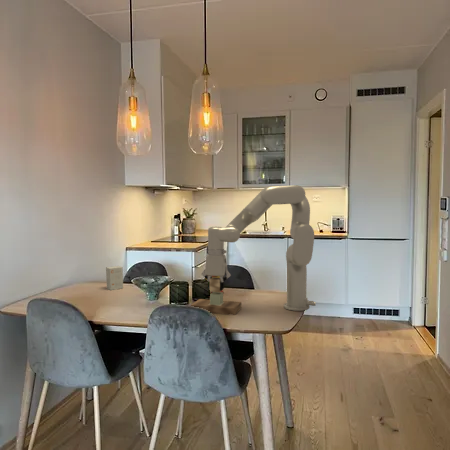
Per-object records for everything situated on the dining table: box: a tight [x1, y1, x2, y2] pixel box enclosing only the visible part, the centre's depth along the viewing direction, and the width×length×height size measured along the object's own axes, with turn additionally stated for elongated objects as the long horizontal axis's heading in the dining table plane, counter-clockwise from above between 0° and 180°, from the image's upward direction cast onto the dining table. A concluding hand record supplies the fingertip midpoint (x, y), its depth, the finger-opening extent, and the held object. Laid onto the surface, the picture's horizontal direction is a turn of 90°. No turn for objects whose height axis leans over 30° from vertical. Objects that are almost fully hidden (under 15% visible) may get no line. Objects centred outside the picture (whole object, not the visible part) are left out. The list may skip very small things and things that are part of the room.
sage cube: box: [209, 291, 224, 305], centre depth 196 cm, size 5×5×5 cm
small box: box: [105, 265, 124, 291], centre depth 242 cm, size 8×6×13 cm
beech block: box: [210, 277, 221, 292], centre depth 196 cm, size 5×5×6 cm
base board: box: [190, 298, 242, 316], centre depth 196 cm, size 22×12×3 cm, turn 73°
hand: (216, 289), depth 196 cm, fingers closed on beech block, 5 cm apart
